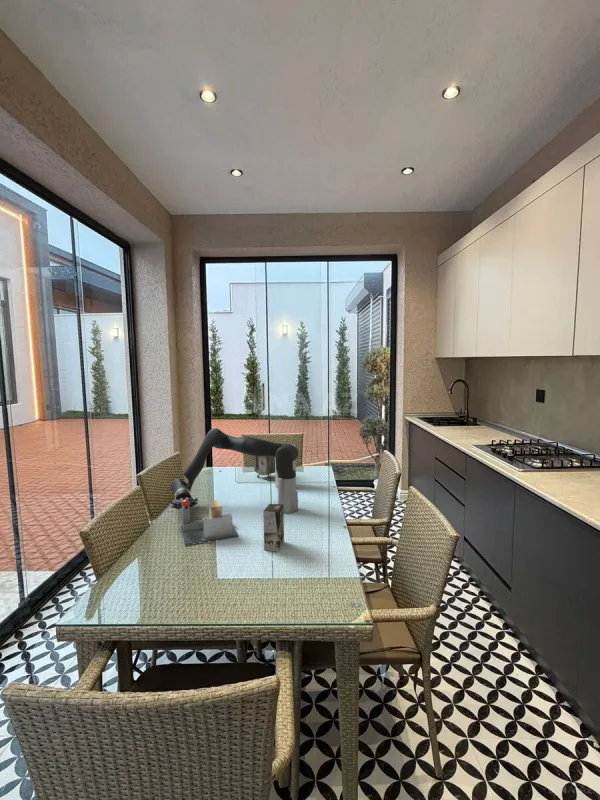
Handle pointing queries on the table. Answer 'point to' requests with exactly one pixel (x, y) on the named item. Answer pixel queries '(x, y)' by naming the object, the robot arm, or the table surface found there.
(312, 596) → the table surface
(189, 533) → the vise bed
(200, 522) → the vise slide jaw
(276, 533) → the coffee box
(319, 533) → the table surface
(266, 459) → the tabletop clock
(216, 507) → the maple block
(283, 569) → the table surface
